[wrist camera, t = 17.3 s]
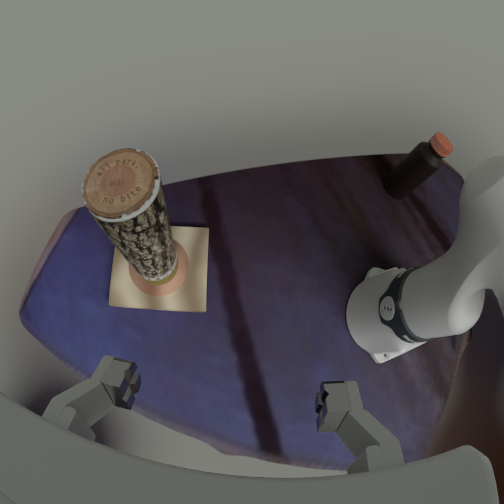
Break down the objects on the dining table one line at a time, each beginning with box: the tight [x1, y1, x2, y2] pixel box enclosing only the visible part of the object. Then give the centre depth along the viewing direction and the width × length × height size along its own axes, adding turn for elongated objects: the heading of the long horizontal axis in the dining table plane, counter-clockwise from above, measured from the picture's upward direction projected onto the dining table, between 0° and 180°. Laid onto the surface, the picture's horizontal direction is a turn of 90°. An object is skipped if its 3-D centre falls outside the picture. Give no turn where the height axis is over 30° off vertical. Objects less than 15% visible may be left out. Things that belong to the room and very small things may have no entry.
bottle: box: [384, 132, 453, 199], centre depth 51 cm, size 7×7×20 cm
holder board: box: [109, 226, 209, 312], centre depth 44 cm, size 16×14×2 cm
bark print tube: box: [82, 148, 178, 285], centre depth 32 cm, size 7×7×25 cm
